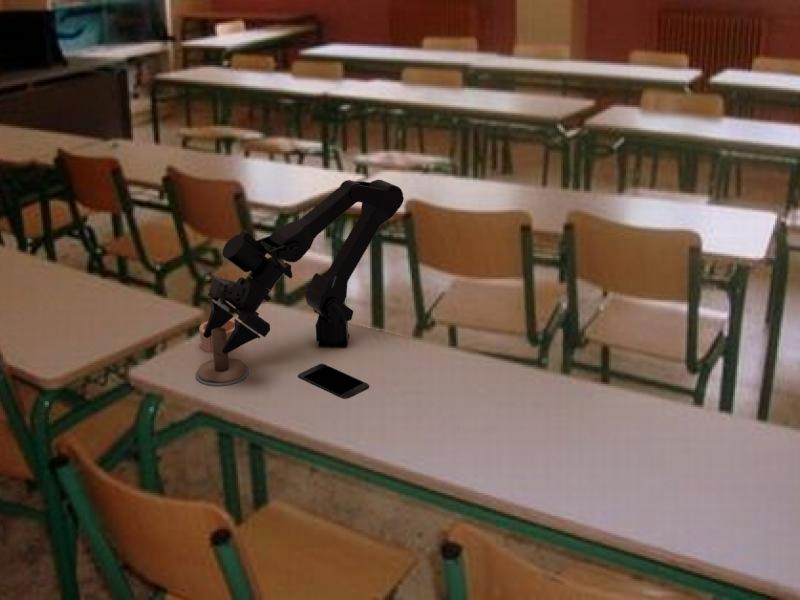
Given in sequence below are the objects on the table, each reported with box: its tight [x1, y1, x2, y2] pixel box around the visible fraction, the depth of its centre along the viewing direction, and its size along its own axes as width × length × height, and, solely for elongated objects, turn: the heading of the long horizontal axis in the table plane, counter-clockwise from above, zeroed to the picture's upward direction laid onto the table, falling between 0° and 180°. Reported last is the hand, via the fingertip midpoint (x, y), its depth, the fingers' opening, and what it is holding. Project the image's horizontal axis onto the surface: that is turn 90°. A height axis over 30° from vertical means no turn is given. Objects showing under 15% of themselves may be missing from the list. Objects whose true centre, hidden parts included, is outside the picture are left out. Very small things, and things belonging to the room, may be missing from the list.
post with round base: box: [197, 328, 247, 383], centre depth 198 cm, size 10×10×10 cm
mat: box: [195, 364, 250, 387], centre depth 200 cm, size 11×11×1 cm
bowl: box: [198, 318, 235, 354], centre depth 212 cm, size 8×8×4 cm
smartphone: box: [297, 363, 370, 400], centre depth 196 cm, size 7×15×1 cm, turn 46°
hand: (214, 344), depth 196 cm, fingers open, 9 cm apart
